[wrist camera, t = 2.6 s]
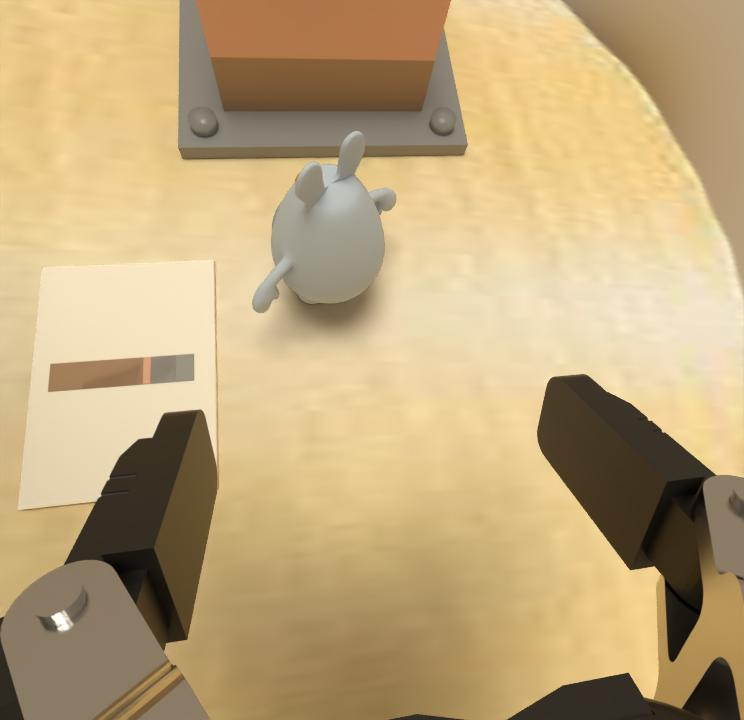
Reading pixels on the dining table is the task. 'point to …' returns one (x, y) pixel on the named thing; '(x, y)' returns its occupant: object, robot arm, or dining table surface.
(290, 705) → the dining table surface
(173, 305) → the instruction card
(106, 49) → the dining table surface
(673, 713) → the robot arm
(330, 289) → the toy figure
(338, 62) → the orange square pedestal
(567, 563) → the dining table surface
